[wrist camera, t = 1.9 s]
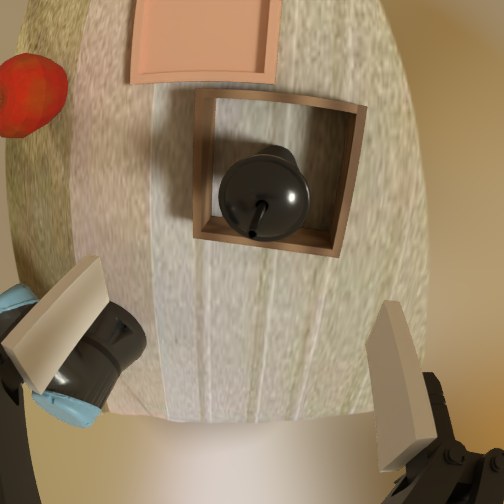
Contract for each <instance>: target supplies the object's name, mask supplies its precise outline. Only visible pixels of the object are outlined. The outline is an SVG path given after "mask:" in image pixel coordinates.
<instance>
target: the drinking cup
mask: <svg viewBox="0 0 504 504" xmlns="http://www.w3.org/2000/svg"><path fill="white" fill-rule="evenodd" d="M218 199H219V206H220V210H221V212H222V215H223V217H224V219H225V220H226V222H227V223H228V224H229V226H230V227H231V228H232V229H233V230H235V231H236V232H237V233H238V234H240V235H242V236H243V237H245V238H248V239H250V240H254V241H258V242H274V241H279V240H282V239H285V238H287V237H289V236H290V235H292V234H293V233H295V232H296V231H297V230H298V229H299V228H300V227H301V226H302V225H303V223H304V222H305V220H306V218H307V216H308V213H309V209H310V191H309V187H308V184H307V182H306V180H305V178H304V176H303V175H302V173H301V172H300V171H299V169H298V166H297V164H296V161H295V158H294V156H293V155H292V153H291V152H290V151H289V150H287V149H286V148H284V147H281V146H271V147H268V148H266V149H264V150H262V151H261V152H259V153H257V154H256V155H253V156H249V157H246V158H244V159H242V160H240V161H238V162H237V163H235V164H234V165H233V166H232V167H231V168H230V169H229V170H228V171H227V173H226V174H225V176H224V177H223V179H222V181H221V184H220V188H219V194H218Z"/></svg>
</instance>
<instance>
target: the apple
mask: <svg viewBox="0 0 504 504" xmlns="http://www.w3.org/2000/svg"><path fill="white" fill-rule="evenodd" d="M67 91H68V81H67V75H66V73H65V71H64V70H63V68H62V67H61V66H59V65H58V64H56V63H55V62H54V61H52V60H51V59H48V58H46V57H43V56H40V55H35V54H30V53H23V54H20V55H16V56H14V57H13V58H10V59H9V60H7V61H5V62H4V63H3V64H2V65H1V66H0V136H1V137H4V138H24V137H26V136H27V135H29V134H31V133H32V132H34V131H36V130H37V129H39V128H41V127H42V126H44V125H46V124H48V123H49V122H50V121H51V120H52V119H53V118H54V117H55V116H56V115H57V114H58V113H59V112H60V111H61V109H62V108H63V106H64V104H65V101H66V97H67Z"/></svg>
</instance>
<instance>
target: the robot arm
mask: <svg viewBox="0 0 504 504" xmlns="http://www.w3.org/2000/svg"><path fill="white" fill-rule="evenodd" d="M145 347H146V336H145V333H144V331H143V329H142V327H141V326H140V324H139V323H138V322H137V321H136V319H135V318H134V317H133V316H132V315H131V314H129V313H128V312H127V311H126V310H124V309H123V308H121V307H120V306H118V305H116V304H114V303H112V302H109V297H108V293H107V289H106V285H105V280H104V276H103V271H102V266H101V261H100V256H95V255H90V254H87V255H86V256H85V257H84V258H83V259H82V260H81V261H80V262H78V263H77V264H76V265H75V266H74V267H73V268H72V269H71V270H70V271H69V272H68V273H67V274H66V275H65V276H64V277H63V278H62V279H61V280H60V281H59V282H58V283H57V284H56V285H55V286H54V287H53V288H52V289H51V290H50V291H49V292H48V293H47V294H46V295H45V296H44V297H43V298H42V299H41V300H40V299H38V298H37V296H36V295H35V294H34V293H33V292H32V290H31V289H30V288H29V287H28V286H27V285H26V284H23V283H20V284H16V285H15V286H13V287H11V288H10V289H8V290H6V291H5V292H3V293H2V294H1V295H0V504H41V500H40V496H39V493H38V489H37V485H36V480H35V476H34V471H33V466H32V461H31V456H30V450H29V444H28V437H27V429H26V421H25V410H24V397H23V388H22V384H23V383H24V382H25V383H26V384H27V386H28V387H29V388H30V389H31V390H32V398H33V400H34V401H35V402H36V403H37V404H38V405H39V406H40V407H41V408H42V409H44V410H45V411H46V412H48V413H49V414H51V415H53V416H54V417H56V418H58V419H59V420H61V421H63V422H65V423H68V424H70V425H73V426H76V427H81V428H86V427H89V426H91V425H92V424H93V423H94V421H95V420H96V418H97V416H98V415H99V414H100V413H101V411H102V410H101V409H102V408H103V406H104V404H105V402H106V400H107V398H108V396H109V394H110V392H111V391H112V389H113V387H114V385H115V383H116V381H117V379H118V378H119V376H120V374H121V372H122V371H123V370H125V369H126V368H127V367H128V366H130V365H131V364H132V363H133V362H134V361H135V360H137V359H138V358H139V357H140V356H141V355H142V353H143V351H144V349H145ZM366 351H367V358H368V364H369V371H370V379H371V386H372V394H373V403H374V412H375V422H376V433H377V446H378V461H379V472H390V471H398V470H400V469H401V468H402V467H403V466H405V465H406V473H405V474H404V475H402V476H401V477H400V478H398V479H397V480H396V481H395V482H394V483H395V484H396V483H397V484H396V486H395V487H394V488H393V490H392V491H391V492H390V494H389V495H388V496H387V497H386V498H385V500H384V501H383V502H382V503H381V504H503V501H504V450H502V449H500V448H494V449H492V450H490V451H489V452H487V453H486V454H479V453H473V452H469V451H467V450H466V448H465V446H464V445H463V444H462V443H461V442H459V441H456V440H455V437H454V434H453V429H452V425H451V421H450V417H449V413H448V409H447V406H446V405H445V403H446V402H445V398H444V396H443V391H442V387H441V384H440V382H439V380H438V379H437V377H436V376H435V375H434V373H433V372H422V370H421V367H420V363H419V360H418V356H417V353H416V350H415V346H414V343H413V340H412V337H411V334H410V331H409V327H408V324H407V321H406V319H405V316H404V313H403V310H402V307H401V304H400V302H398V301H389V300H384V301H383V304H382V306H381V309H380V311H379V314H378V316H377V319H376V321H375V324H374V326H373V328H372V331H371V333H370V335H369V338H368V340H367V342H366Z"/></svg>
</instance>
